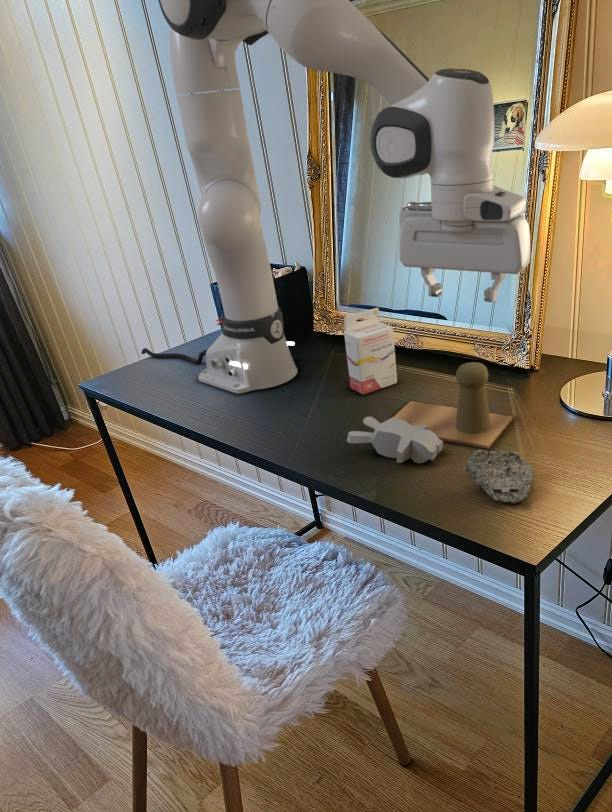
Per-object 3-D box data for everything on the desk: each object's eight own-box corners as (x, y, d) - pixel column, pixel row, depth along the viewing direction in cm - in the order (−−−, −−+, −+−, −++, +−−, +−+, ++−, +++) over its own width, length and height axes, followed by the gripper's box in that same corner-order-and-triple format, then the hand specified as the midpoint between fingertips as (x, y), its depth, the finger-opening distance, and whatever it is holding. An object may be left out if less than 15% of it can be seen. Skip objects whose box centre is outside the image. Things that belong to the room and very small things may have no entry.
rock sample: (488, 495, 88) (489, 434, 90) (459, 507, 94) (460, 450, 97) (551, 507, 91) (550, 448, 94) (519, 518, 98) (519, 463, 100)
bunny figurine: (425, 452, 99) (341, 427, 105) (424, 479, 102) (342, 454, 108) (450, 424, 105) (370, 402, 111) (448, 450, 109) (370, 428, 114)
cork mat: (382, 429, 115) (382, 426, 115) (411, 403, 123) (410, 400, 122) (488, 448, 106) (488, 445, 105) (512, 419, 113) (512, 416, 113)
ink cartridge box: (363, 396, 128) (354, 323, 120) (350, 388, 132) (340, 317, 123) (398, 382, 131) (392, 311, 123) (385, 376, 135) (378, 305, 127)
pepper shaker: (490, 433, 108) (490, 372, 102) (454, 434, 110) (451, 373, 104) (491, 417, 113) (491, 357, 107) (456, 417, 115) (454, 358, 109)
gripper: (388, 205, 97) (394, 298, 104) (521, 207, 87) (516, 310, 94) (409, 197, 101) (413, 287, 109) (537, 199, 91) (531, 297, 99)
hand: (462, 298), depth 101 cm, fingers open, 8 cm apart
